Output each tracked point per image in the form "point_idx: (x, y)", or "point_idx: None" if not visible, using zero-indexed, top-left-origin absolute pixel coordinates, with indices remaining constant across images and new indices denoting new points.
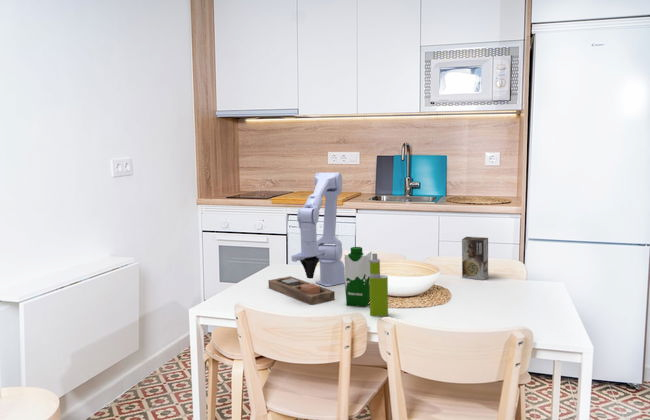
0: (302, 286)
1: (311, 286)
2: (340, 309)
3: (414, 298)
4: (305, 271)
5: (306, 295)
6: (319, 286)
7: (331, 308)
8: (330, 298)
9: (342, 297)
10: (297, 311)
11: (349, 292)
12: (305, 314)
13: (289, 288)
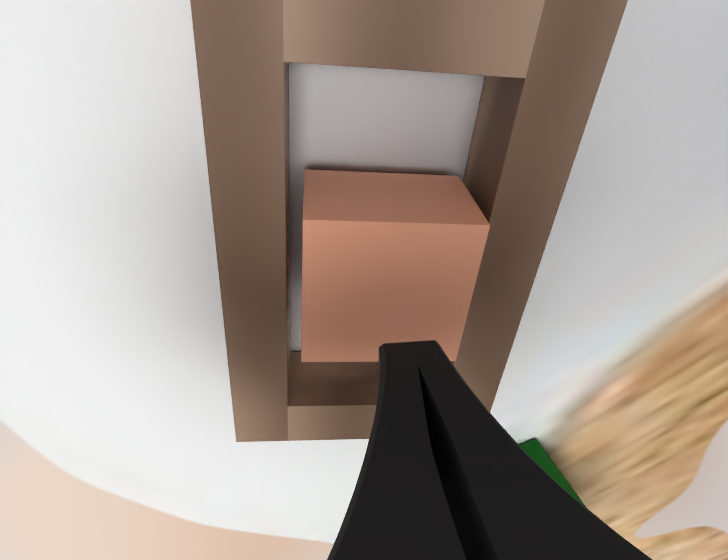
0: (302, 259)
1: (386, 320)
2: (340, 511)
3: (722, 545)
4: (374, 421)
5: (231, 386)
6: (451, 358)
7: (312, 483)
8: None
9: (547, 371)
10: (80, 431)
11: None
12: (107, 488)
13: (195, 41)
